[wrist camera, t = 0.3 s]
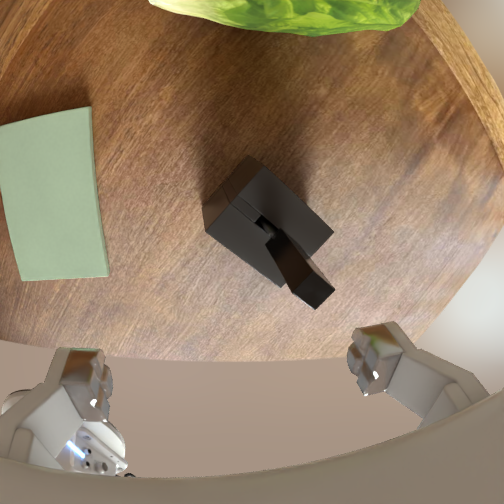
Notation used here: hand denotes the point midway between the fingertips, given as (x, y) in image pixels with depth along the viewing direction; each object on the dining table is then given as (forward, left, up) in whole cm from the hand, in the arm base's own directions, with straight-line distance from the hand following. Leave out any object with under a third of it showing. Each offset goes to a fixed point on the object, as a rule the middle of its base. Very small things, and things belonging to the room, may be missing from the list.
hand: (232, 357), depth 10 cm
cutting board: (+8, +16, -28) cm, 34 cm away
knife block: (-7, -4, -28) cm, 29 cm away
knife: (-7, -4, -27) cm, 28 cm away
